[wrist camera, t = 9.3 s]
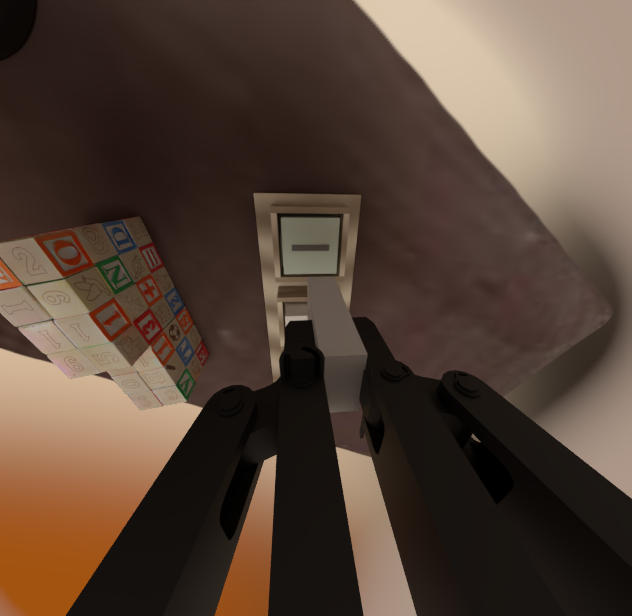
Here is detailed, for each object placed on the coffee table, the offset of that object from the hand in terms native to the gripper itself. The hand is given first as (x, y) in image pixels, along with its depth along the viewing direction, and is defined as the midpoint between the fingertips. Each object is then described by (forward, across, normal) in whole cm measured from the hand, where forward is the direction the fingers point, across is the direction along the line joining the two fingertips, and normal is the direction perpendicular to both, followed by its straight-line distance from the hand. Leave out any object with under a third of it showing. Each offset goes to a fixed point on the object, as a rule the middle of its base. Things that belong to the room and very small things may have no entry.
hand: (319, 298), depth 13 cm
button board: (+18, 0, -10) cm, 20 cm away
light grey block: (+16, 0, 0) cm, 16 cm away
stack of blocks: (+18, -20, -9) cm, 28 cm away
